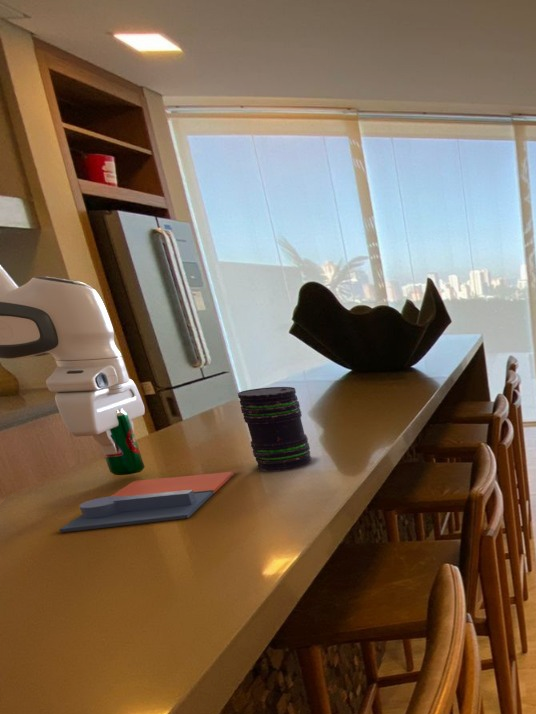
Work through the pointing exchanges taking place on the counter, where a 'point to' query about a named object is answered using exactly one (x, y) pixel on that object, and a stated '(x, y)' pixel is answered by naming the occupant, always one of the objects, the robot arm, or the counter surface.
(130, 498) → the rounded-end blue bar
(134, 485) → the sorting mat
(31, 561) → the counter surface
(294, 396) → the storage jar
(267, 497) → the counter surface
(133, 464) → the soda can
